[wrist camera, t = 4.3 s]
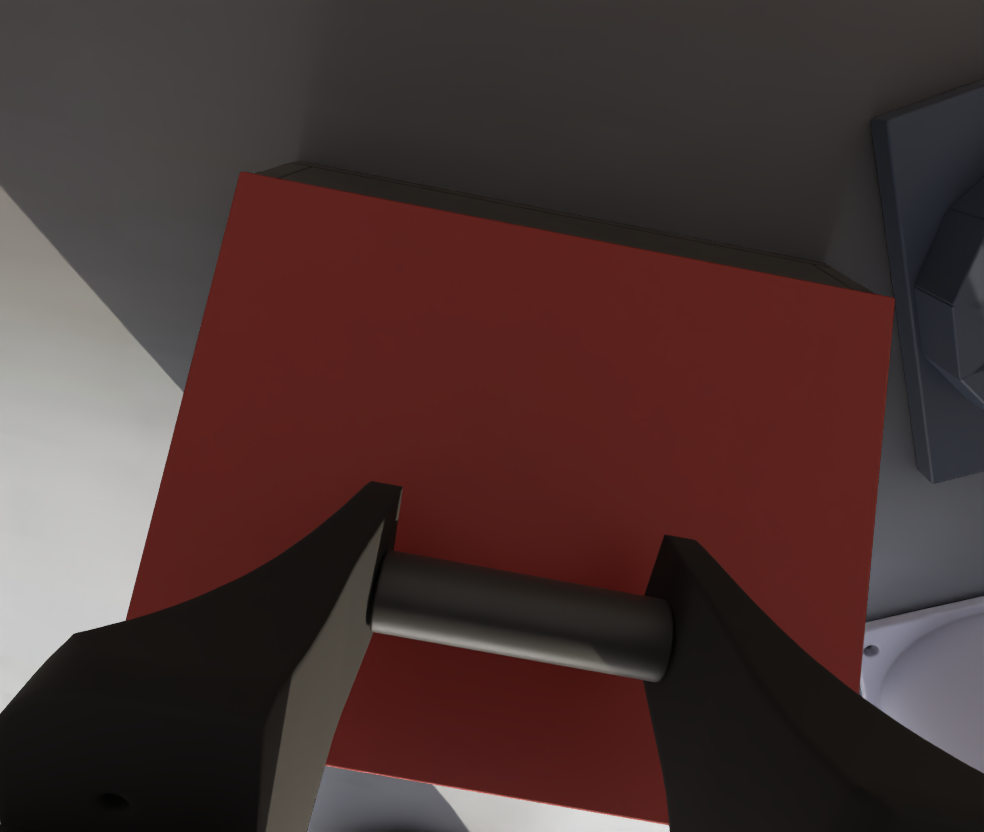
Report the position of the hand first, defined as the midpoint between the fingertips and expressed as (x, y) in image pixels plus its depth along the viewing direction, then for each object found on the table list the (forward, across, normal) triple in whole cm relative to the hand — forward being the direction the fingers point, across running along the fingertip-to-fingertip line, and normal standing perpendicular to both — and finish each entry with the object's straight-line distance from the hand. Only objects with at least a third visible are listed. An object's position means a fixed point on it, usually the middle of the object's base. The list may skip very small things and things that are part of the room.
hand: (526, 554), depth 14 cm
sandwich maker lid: (+2, 0, 0) cm, 2 cm away
